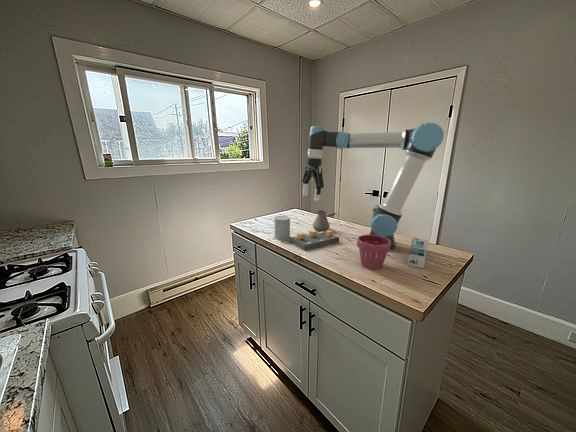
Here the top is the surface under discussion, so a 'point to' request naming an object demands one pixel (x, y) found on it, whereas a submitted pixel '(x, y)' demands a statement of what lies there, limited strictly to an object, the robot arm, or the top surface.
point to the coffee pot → (321, 221)
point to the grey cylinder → (282, 227)
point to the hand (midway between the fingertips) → (310, 197)
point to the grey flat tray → (314, 240)
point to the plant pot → (373, 250)
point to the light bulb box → (418, 253)
